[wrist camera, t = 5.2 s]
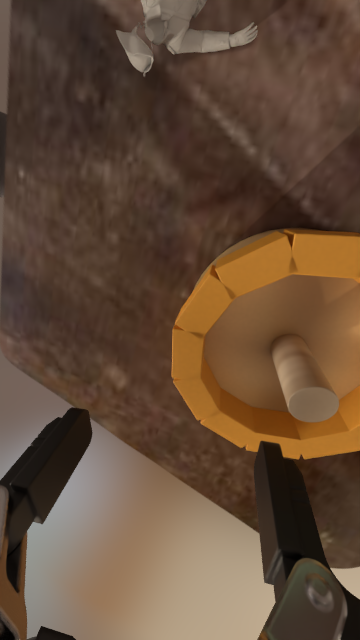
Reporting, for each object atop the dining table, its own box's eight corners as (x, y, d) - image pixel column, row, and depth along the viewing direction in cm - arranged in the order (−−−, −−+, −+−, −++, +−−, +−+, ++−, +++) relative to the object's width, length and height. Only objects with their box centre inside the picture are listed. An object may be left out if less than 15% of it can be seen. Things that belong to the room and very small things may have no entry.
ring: (176, 412, 23) (170, 437, 21) (182, 224, 16) (174, 227, 14) (368, 443, 21) (387, 475, 18) (480, 237, 14) (537, 244, 11)
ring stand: (183, 385, 27) (162, 472, 18) (191, 222, 20) (163, 235, 11) (346, 408, 24) (416, 522, 16) (425, 233, 17) (639, 259, 8)
